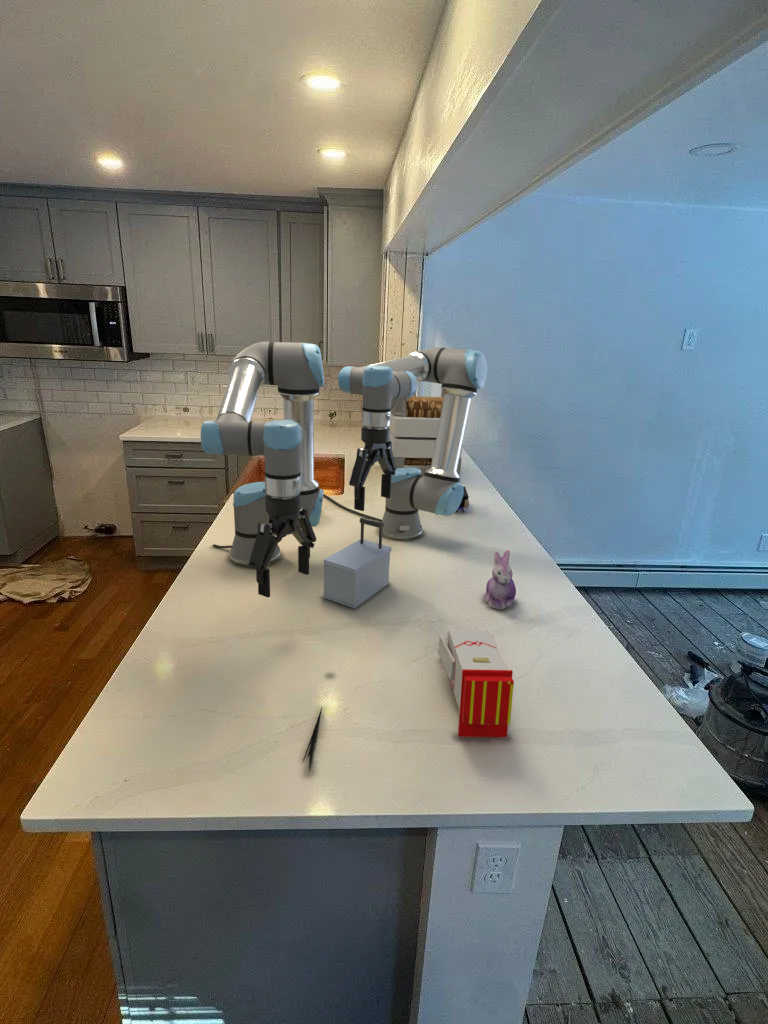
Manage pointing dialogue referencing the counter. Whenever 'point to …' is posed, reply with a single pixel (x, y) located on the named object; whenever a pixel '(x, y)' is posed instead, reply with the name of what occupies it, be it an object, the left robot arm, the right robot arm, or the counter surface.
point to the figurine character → (464, 501)
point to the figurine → (501, 583)
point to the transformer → (416, 430)
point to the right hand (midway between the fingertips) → (372, 503)
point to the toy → (478, 682)
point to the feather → (313, 740)
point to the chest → (356, 582)
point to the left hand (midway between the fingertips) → (284, 583)
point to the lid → (359, 551)
